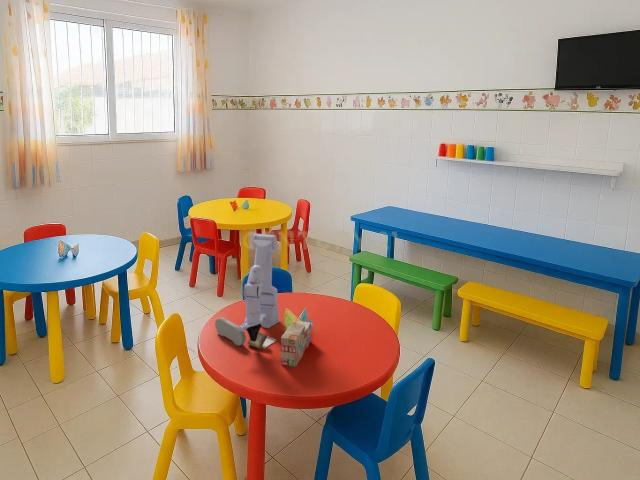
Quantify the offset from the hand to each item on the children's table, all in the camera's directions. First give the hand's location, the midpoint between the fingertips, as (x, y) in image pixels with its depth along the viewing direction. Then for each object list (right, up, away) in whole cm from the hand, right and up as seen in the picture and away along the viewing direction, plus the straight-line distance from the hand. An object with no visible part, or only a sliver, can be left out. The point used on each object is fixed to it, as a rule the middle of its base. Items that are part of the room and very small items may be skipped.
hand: (253, 340), depth 193 cm
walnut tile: (0, -3, +1) cm, 3 cm away
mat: (+3, -2, +6) cm, 7 cm away
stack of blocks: (+18, -5, -1) cm, 19 cm away
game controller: (-11, -1, +8) cm, 14 cm away
